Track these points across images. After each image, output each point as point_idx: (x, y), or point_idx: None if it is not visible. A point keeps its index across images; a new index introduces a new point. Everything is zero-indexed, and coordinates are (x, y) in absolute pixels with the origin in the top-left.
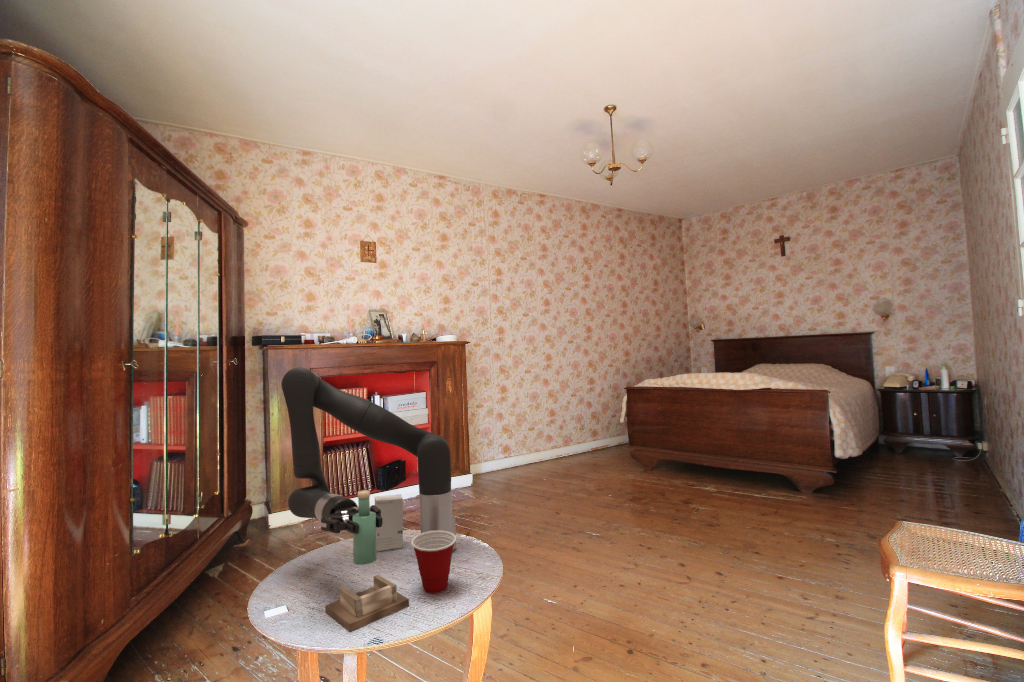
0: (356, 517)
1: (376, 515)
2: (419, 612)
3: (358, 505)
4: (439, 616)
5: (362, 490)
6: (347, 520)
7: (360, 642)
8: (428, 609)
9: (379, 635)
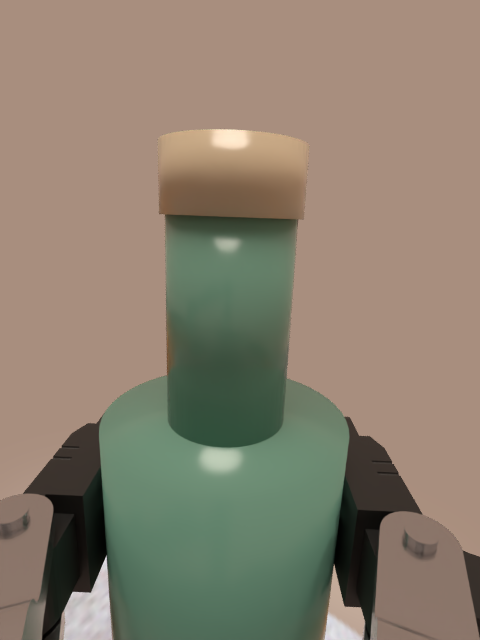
0: (320, 410)
1: (78, 450)
2: (109, 631)
3: (288, 316)
4: (106, 561)
5: (208, 130)
6: (404, 511)
7: (340, 627)
8: (78, 622)
9: None
